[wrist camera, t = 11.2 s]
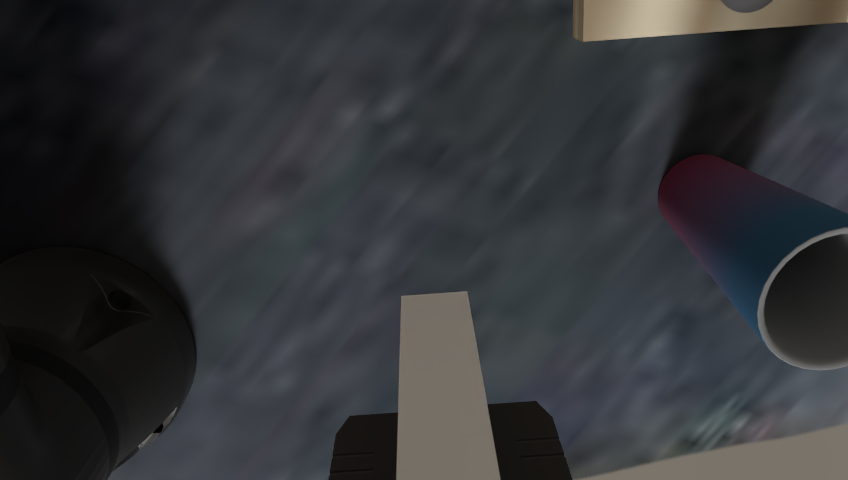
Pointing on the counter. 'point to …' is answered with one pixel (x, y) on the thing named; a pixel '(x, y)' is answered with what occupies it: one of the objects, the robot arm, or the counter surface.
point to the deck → (693, 17)
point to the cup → (767, 255)
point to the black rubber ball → (746, 5)
